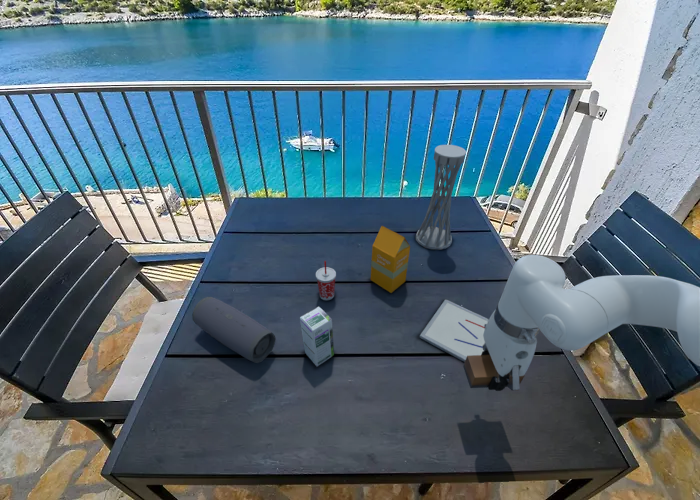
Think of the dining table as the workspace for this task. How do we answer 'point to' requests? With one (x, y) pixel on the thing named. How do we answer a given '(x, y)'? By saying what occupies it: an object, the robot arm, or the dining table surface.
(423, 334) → the board
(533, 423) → the dining table surface
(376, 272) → the orange juice
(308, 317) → the syrup box
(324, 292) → the beverage cup
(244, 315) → the bluetooth speaker
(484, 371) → the eraser
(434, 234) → the grey lattice tower
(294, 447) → the dining table surface
